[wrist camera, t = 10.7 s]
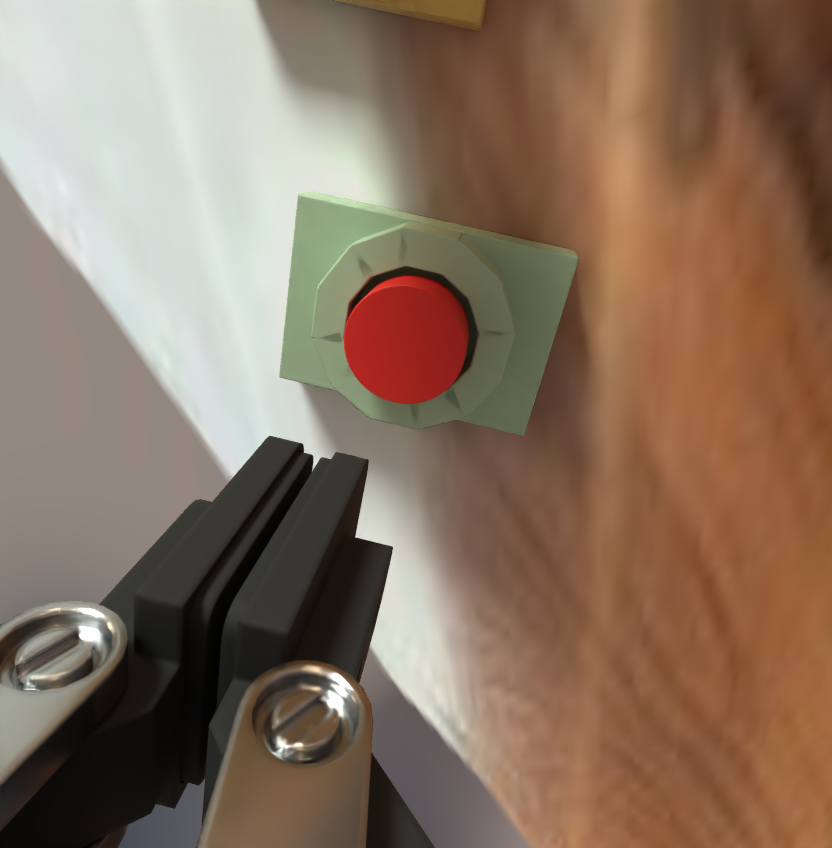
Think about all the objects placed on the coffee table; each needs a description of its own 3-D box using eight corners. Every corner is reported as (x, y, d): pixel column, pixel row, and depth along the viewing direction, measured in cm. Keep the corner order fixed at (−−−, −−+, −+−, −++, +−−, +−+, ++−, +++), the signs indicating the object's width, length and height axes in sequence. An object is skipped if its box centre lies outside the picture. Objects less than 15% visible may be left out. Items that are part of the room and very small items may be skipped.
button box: (574, 250, 22) (585, 266, 19) (523, 419, 25) (525, 457, 22) (312, 191, 22) (279, 196, 19) (292, 364, 25) (261, 393, 22)
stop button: (481, 289, 20) (479, 300, 18) (454, 397, 22) (450, 416, 20) (365, 262, 20) (352, 271, 18) (348, 371, 22) (335, 389, 20)
